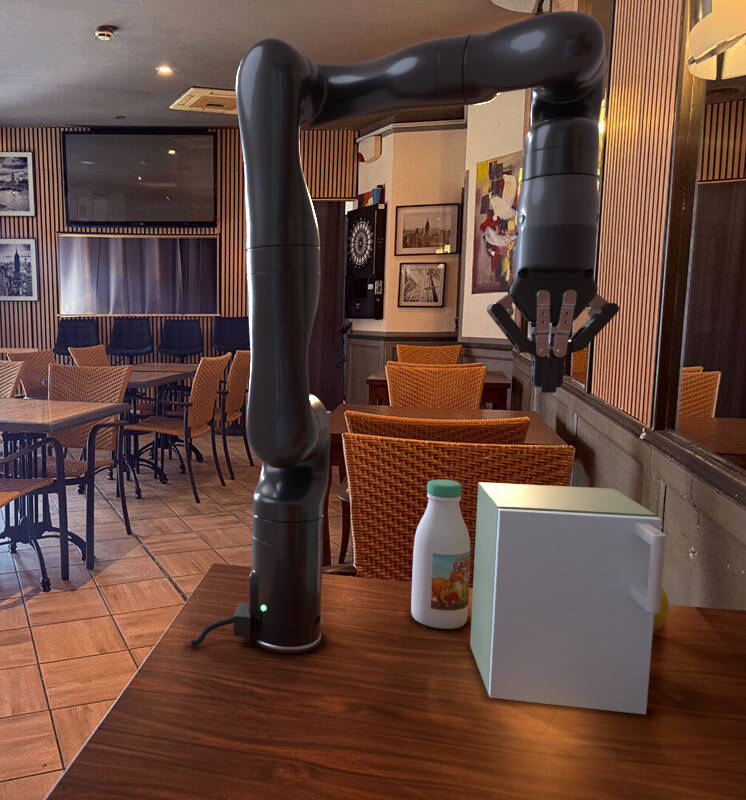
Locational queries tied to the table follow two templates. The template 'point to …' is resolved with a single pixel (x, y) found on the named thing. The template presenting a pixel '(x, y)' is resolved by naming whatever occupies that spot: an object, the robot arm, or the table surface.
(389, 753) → the table surface
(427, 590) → the milk bottle
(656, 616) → the lemon
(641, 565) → the cabinet door
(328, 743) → the table surface
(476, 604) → the cabinet
